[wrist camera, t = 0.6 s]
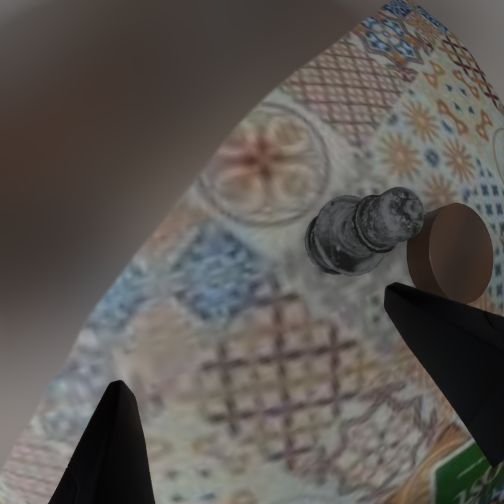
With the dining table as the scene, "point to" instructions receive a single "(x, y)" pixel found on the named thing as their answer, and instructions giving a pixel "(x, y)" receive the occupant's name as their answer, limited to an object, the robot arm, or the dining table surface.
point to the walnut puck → (451, 254)
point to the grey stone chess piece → (362, 230)
